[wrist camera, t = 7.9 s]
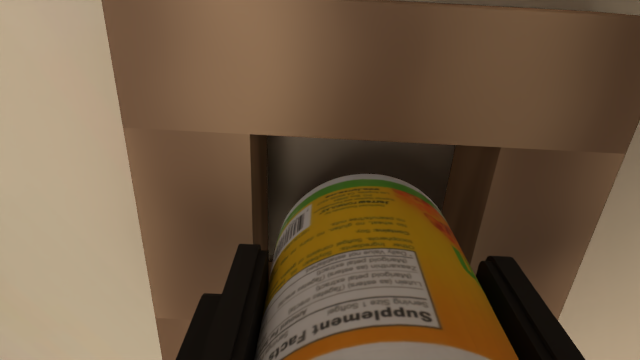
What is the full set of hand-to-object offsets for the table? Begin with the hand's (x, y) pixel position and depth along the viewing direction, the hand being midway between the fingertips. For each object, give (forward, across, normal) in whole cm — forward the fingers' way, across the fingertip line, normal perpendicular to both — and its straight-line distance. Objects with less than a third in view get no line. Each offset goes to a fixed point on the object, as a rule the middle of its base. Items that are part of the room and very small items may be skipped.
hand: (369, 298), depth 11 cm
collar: (+6, 0, 0) cm, 6 cm away
